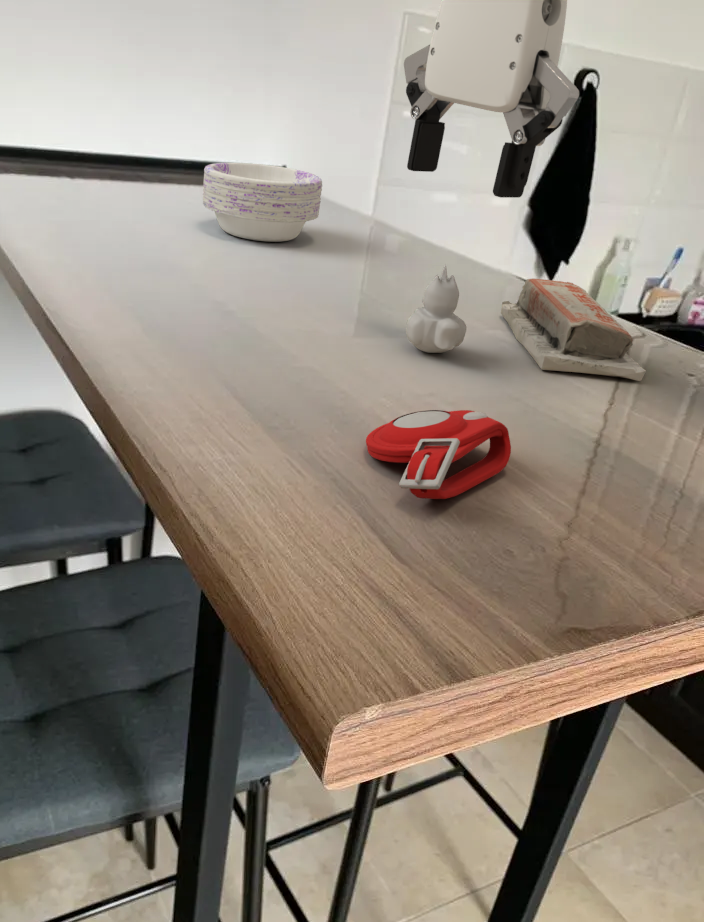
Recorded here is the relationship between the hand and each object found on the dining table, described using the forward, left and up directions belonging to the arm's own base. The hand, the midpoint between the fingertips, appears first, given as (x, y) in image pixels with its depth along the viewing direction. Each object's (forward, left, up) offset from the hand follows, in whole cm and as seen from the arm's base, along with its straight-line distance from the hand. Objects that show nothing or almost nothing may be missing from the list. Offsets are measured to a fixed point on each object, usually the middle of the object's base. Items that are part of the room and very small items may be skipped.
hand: (462, 183), depth 73 cm
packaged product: (-16, +4, -15) cm, 22 cm away
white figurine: (0, 0, -15) cm, 15 cm away
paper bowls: (-12, -43, -15) cm, 47 cm away
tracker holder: (+19, +17, -15) cm, 30 cm away
